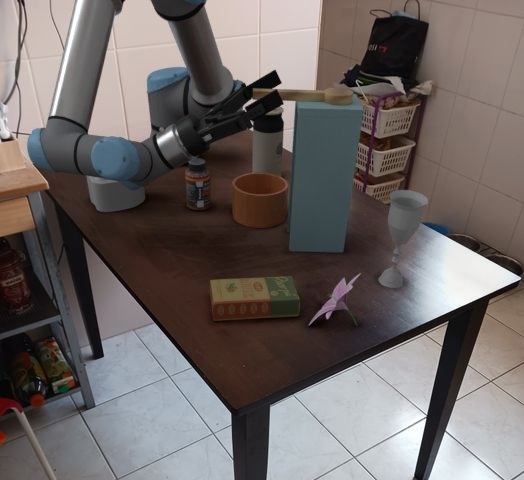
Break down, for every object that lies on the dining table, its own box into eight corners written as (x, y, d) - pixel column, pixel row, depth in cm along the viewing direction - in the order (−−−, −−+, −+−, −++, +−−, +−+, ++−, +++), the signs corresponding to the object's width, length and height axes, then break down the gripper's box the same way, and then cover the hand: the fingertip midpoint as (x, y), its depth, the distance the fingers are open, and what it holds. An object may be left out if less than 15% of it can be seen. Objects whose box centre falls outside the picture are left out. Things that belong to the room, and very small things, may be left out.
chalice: (367, 275, 112) (382, 192, 101) (394, 268, 115) (412, 187, 103) (386, 293, 107) (404, 209, 96) (415, 287, 109) (436, 203, 98)
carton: (210, 296, 105) (209, 278, 102) (291, 292, 107) (292, 273, 104) (213, 322, 99) (212, 303, 96) (299, 317, 101) (301, 298, 98)
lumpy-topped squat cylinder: (87, 197, 136) (81, 163, 131) (137, 187, 141) (133, 155, 136) (100, 214, 130) (94, 179, 124) (151, 203, 135) (148, 169, 129)
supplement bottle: (207, 212, 132) (205, 167, 124) (183, 210, 133) (180, 164, 125) (213, 202, 136) (212, 157, 129) (191, 199, 137) (188, 155, 130)
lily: (347, 301, 107) (328, 261, 102) (393, 308, 97) (374, 265, 93) (308, 340, 103) (286, 301, 98) (352, 352, 93) (330, 310, 89)
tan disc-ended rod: (252, 102, 101) (252, 93, 100) (252, 94, 105) (253, 84, 104) (354, 105, 101) (355, 96, 100) (350, 97, 106) (351, 87, 104)
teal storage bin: (287, 229, 126) (296, 92, 107) (338, 230, 127) (356, 94, 107) (288, 251, 119) (298, 107, 99) (343, 252, 119) (363, 109, 100)
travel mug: (246, 177, 149) (246, 108, 137) (265, 169, 153) (267, 101, 142) (268, 185, 145) (270, 115, 133) (287, 176, 150) (290, 108, 138)
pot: (233, 202, 136) (233, 171, 131) (285, 204, 137) (286, 173, 132) (231, 227, 127) (231, 194, 121) (287, 228, 127) (289, 196, 122)
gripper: (165, 146, 96) (270, 85, 90) (181, 103, 115) (269, 51, 109) (188, 181, 101) (290, 126, 94) (200, 135, 120) (286, 86, 113)
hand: (279, 85), depth 101 cm, fingers open, 13 cm apart
